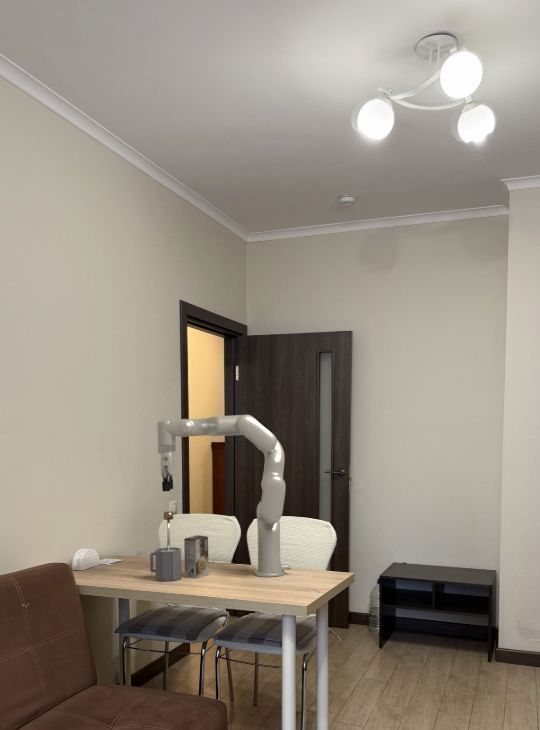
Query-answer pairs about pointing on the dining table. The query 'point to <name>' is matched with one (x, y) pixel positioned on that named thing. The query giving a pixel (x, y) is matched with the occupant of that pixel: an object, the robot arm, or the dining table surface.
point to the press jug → (167, 565)
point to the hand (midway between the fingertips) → (167, 490)
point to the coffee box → (196, 556)
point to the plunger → (168, 530)
